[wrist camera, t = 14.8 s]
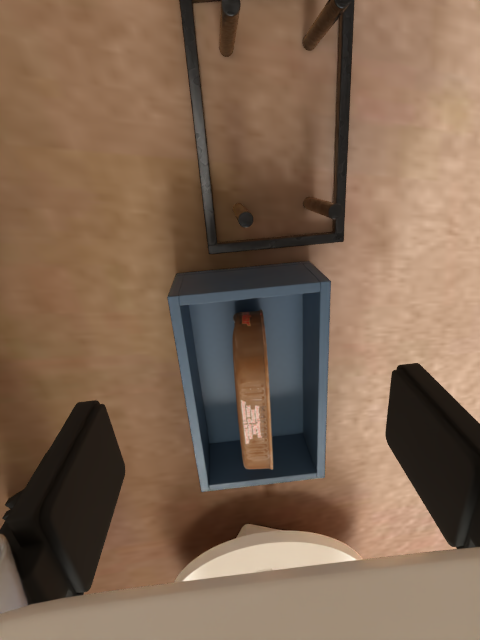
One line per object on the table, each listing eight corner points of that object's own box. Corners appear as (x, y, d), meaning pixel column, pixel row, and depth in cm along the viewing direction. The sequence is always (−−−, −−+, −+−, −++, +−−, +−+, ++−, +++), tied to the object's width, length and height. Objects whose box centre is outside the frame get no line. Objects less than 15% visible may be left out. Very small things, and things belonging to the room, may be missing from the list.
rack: (351, -23, 23) (404, -98, 17) (340, 240, 30) (374, 258, 24) (178, -12, 23) (164, -83, 16) (209, 252, 30) (207, 274, 24)
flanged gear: (208, 468, 40) (205, 694, 23) (386, 508, 45) (494, 718, 28) (151, 592, 49) (117, 824, 31) (306, 614, 54) (350, 824, 37)
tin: (267, 424, 37) (281, 491, 29) (238, 428, 37) (245, 495, 29) (260, 295, 31) (275, 335, 23) (226, 298, 31) (230, 340, 23)
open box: (309, 260, 31) (331, 281, 25) (308, 432, 39) (324, 477, 33) (176, 273, 30) (167, 296, 25) (203, 444, 39) (201, 492, 33)
